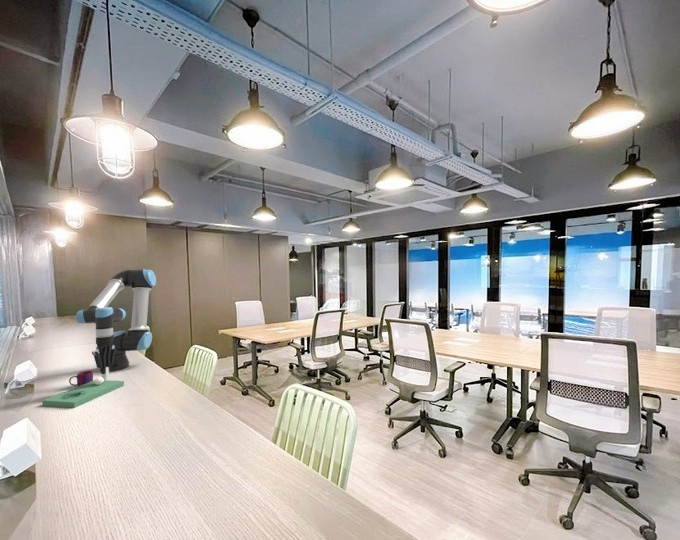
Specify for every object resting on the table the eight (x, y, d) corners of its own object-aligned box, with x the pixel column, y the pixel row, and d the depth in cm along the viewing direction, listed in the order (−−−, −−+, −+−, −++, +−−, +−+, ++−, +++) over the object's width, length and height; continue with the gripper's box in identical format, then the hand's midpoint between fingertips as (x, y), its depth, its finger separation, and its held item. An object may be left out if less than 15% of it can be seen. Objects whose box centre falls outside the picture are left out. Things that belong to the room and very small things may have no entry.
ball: (99, 383, 161) (99, 375, 161) (106, 383, 160) (105, 376, 160) (92, 386, 157) (92, 378, 157) (98, 386, 156) (98, 378, 156)
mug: (94, 384, 165) (93, 372, 165) (70, 390, 158) (69, 377, 158) (91, 381, 170) (91, 369, 170) (68, 387, 162) (68, 374, 162)
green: (95, 384, 166) (95, 379, 166) (123, 385, 163) (123, 381, 163) (42, 405, 140) (42, 400, 140) (74, 407, 137) (74, 402, 137)
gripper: (109, 333, 169) (110, 374, 169) (86, 338, 156) (87, 383, 156) (121, 333, 168) (122, 375, 168) (99, 338, 155) (100, 384, 155)
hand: (105, 379), depth 162 cm, fingers closed
